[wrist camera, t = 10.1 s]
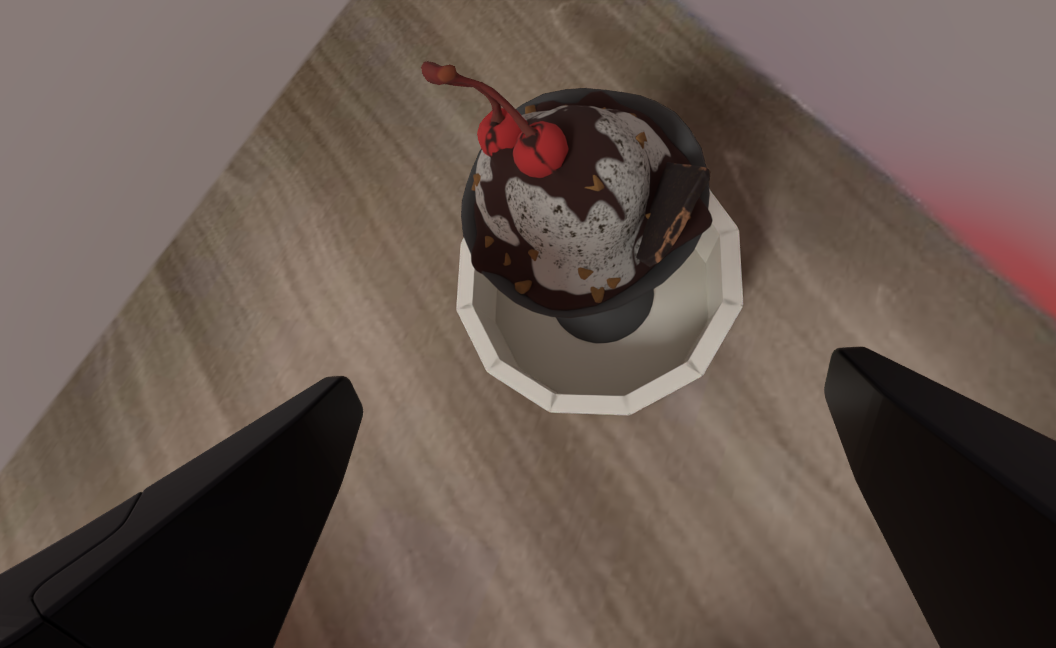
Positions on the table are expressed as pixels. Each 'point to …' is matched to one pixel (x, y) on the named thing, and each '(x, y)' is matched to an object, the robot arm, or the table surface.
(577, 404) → the white faceted bowl
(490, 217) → the sundae
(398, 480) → the table surface
